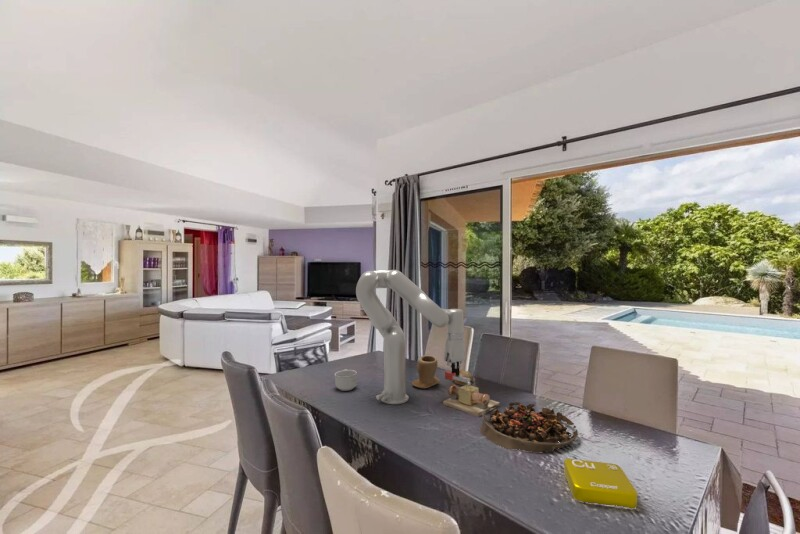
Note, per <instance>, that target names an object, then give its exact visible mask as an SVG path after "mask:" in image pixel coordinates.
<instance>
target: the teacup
mask: <svg viewBox="0 0 800 534" xmlns="http://www.w3.org/2000/svg"><path fill="white" fill-rule="evenodd" d="M334 382H335V387H336V388H337V389H338V390H339V391H343V392H347V391H351V390H353V389H354V388H355V387H356V386H357V384H358V372H357V371H356V370H355V369H346V368H345V369H343V370H338V371H336V372H335V373H334Z"/></svg>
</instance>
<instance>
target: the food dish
mask: <svg viewBox="0 0 800 534" xmlns="http://www.w3.org/2000/svg"><path fill="white" fill-rule="evenodd" d="M498 405H499V406H500V404H497V405H494V406H492V407H491V408H494V407H497V406H498ZM499 406H498V407H499ZM514 406H516V408H515V407H514ZM535 406H536V405H535V404H534V403H530V404H529V403H528V405H526V406H525V405H524V404H521V402H517V401H512V402H510V403H509V404H508V408H507V407H505V410H504V412H503V413H501V412H500V409H499V408H498V407H497V408H498V409H496V408H495V409H493V413H491V411H490V410H489V409H490V408H488V409H486V410H485V411H488V412H487V413H489V419H488V417H486V416H485V414H486V413H485V411H484V413H485V414H484V413H483V415H482V423H481V426H480V429H479V430H480V434H481V435H483V436H485V438H486V439H487V441H489V440H490V441H489V442H491V443H493V444H494V445H495V446H498V445H499V447H500V446H501V447H500V448H503V447H504V448H503V449H505V448H506V449H505V450H508V449H510V450H509V451H512V450H511V449H517V450H519V449H520V450H525V451H532V452H543V451H552V450H553V449H556V450H557V449H558V448H562V447H563V446H566V445H568V446H569V445H570V444H571V443H573V442H574V441H575V440H576V439H577V437H578V436H579V432H578V429H576V428H577V426H576V425H575V423H574V422H572V420H571V419H569V418H568V417H567V416H565V415H563V413H562V412H559V411H558V412H556V414H555V410H554V408H551V409H550V408H547V407H541V408H542V409H541V411H539V412H537V411H536V409H535V408H534V407H535ZM561 422H565V423H566V424H567V425H570V426H573V429H575V430H574V431H572V434H571V432H569V431H567V429H568V427H567V425H566V426H564V424H561ZM569 434H571V435H572V436H569ZM558 441H559V442H560V443H559V442H558ZM563 448H564V447H563ZM563 448H562V449H563ZM517 450H516V451H517ZM558 450H559V449H558ZM553 451H554V450H553ZM553 451H552V452H553ZM532 452H531V453H532ZM543 453H544V452H543Z"/></svg>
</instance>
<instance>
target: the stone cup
mask: <svg viewBox="0 0 800 534" xmlns="http://www.w3.org/2000/svg"><path fill="white" fill-rule="evenodd" d="M416 366H417V367H416V368H417V373H418V379H415V380H414V381H412V382H411V385H412V386H414V387H415V388H418V389H428V388H431V387H432V386H435V385H437V384H439V383H441V380H440V379H439V378H438V377H436V373H437V369H438V359H437V357H436V356H434V355H430V354H428V355H426V354H425V355H424V354H423V355H421V356H420V357H419V358H418V360H417V365H416Z"/></svg>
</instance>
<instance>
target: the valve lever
mask: <svg viewBox="0 0 800 534" xmlns="http://www.w3.org/2000/svg"><path fill="white" fill-rule="evenodd" d="M444 379H445V380H448V381H451V382H453V380H458V381H462V382H465V383H467V386H470V378H466V377H462V376H459V375H456V373H455V372H452V370H447V371H445V372H444Z"/></svg>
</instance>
